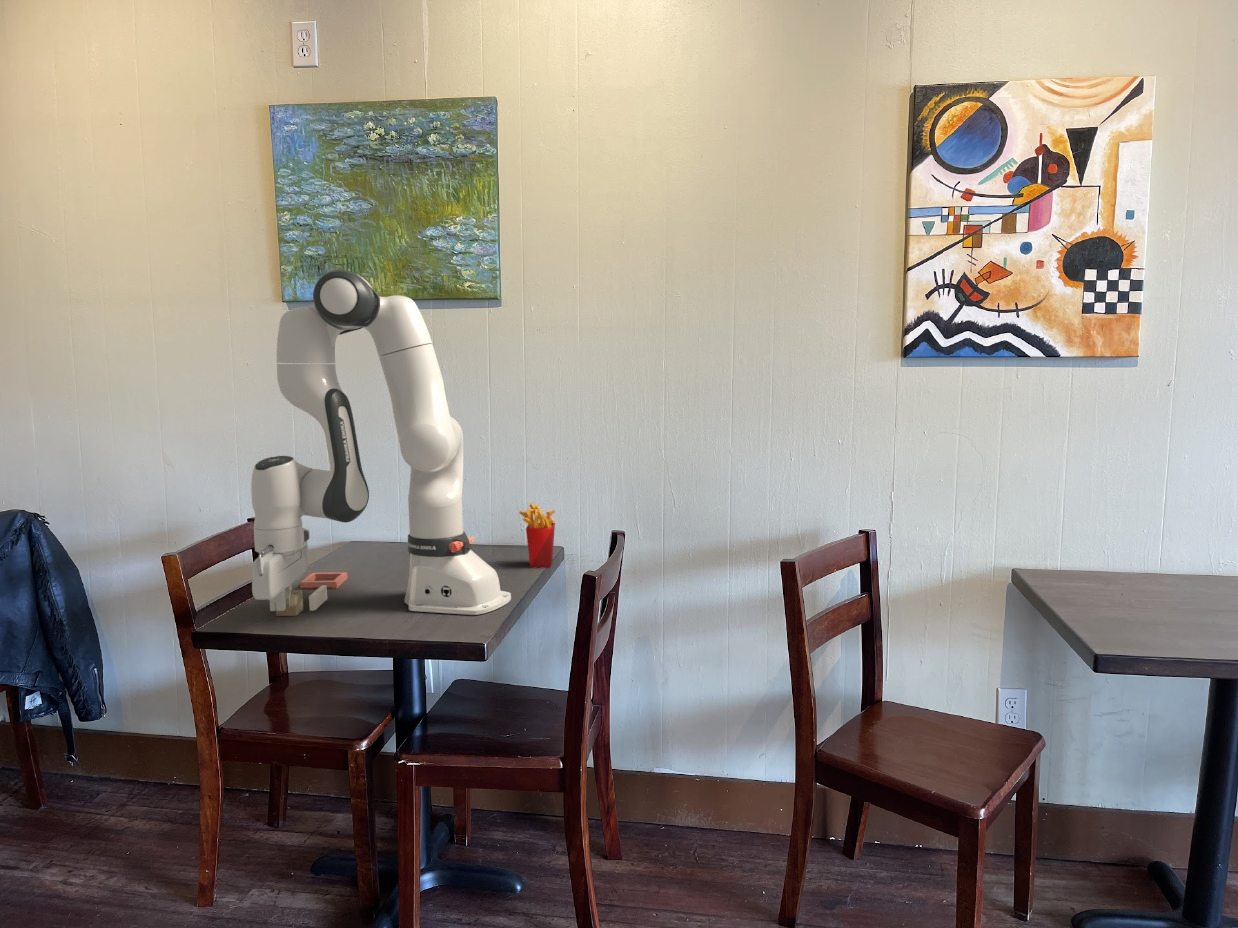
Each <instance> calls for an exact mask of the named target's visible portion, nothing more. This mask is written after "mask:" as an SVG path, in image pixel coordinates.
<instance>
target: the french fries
mask: <svg viewBox="0 0 1238 928" xmlns="http://www.w3.org/2000/svg"><path fill="white" fill-rule="evenodd" d="M528 506H529V507H530V508H527V509H526V510H524V511H523V510H520V511H519V515H521V516H523V519H522V521H523V522H524V523H527V526H526V528H525V531H526V533H525V534H526V539H527V549H528V557H529V566H530V567H547V568H548V569H550V568H551V567H552V564H553V558H554V557H553V556H554V546H555V545H554V544H555V528H556V522H555V519H554V517H551V516H552V515H554V514H555V513H556V510H555V509H553V510H551V511H550V510H546V511H545V513H546V515H544V514H543V513H542V511H541V508H540V506H539V505H538V504H537V505H534V503H529V504H528ZM526 511H527V512H526ZM547 568H546V569H547Z"/></svg>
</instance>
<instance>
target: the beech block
mask: <svg viewBox="0 0 1238 928" xmlns="http://www.w3.org/2000/svg"><path fill="white" fill-rule="evenodd" d="M275 605H276V603H275ZM302 611H304V598H303V589H300V590H291V595H290V606H289V607H287V608H286V609H285V610H284V611H277V610H276V611H275V615H276V617H281V616H283V617H284V616H286V617H287V616H288V617H289V616H293V617H295V616H298V615H299V614H300V613H301V612H302Z"/></svg>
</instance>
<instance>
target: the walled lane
mask: <svg viewBox="0 0 1238 928" xmlns="http://www.w3.org/2000/svg"><path fill="white" fill-rule="evenodd" d="M327 600H328V589H327V585H322V586H321V587H319V588H318V589H315V590H314V592H313V593H311V594H310V595H309V596H308V602H309V612H311V611H312V612H313V611H316V610H317V609H319V607H320V606H322V605H323V604H324V603H325V602H326V601H327ZM268 601H269V612H276V605H275V601H274V598H273V599H268Z"/></svg>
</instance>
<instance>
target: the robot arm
mask: <svg viewBox="0 0 1238 928" xmlns="http://www.w3.org/2000/svg"><path fill="white" fill-rule="evenodd" d="M312 291H313V292H312V301H313V304H312V305H310V306H300V307H299V306H298V307H294V308H291V309H288V310H287V311H286V312H284V313H283V314H282V315H281V317H280V321H279V326H278V333H277V341H276V342H277V343H276V376H277V377H276V378H277V384H278V387H279V390H280V393H281V394H282V396H283V398H285V400H286V401H287V402H289V403H290V404H291V405H292V406H294V407H296V408H297V409H299V410H301V411H304V412H305V413H306V414H308V415H310V416H311V417H313V418H314V419H315V420H316V421H317V422H318V423H319V425H320V426H321V428H322V431H323V432H324V435H325V437H324V438H325V443H326V448H327V454H328V461H329V468H330V470H326V469H325V470H324V469H320V468H317V469H316V468H312V467H308V466H306V465H303V464H301V463H299V462H298V461H296V460H295V458H294V457H292V456H289V455H277V456H271V457H270V456H269V457H267V458H264V459H263V458H262V459H261V460H260V461H258V462H256V464H255V465H254V467H253V470H252V474H251V489H250V491H251V492H250V493H251V494H250V495H251V505H252V508H253V510H254V512H253V513H254V521H253V537H254V538H253V539H254V551H255V552H256V553H258V557H257V558H255V559H254V561H253V564H252V567H251V568H252V569H251V592H252V596H253V598H254V599H255V600H258V601H259V600H264V601H265V600H269V599H273V598H274V601H275V603H276V610H277V611H284V610H285V609H286V608H287V607H289V606H290V595H291V591H293V590H292V589H293V586H292V585H293V584H294V583H295V582H296V581H298V580H299V579H300V578H301V577H303V576H305V574H307V572H308V569H309V544H308V541H309V540H310V537H311V536H310V530H309V529H307V528H304V527H303V520H302V517H303V516H308V517H313V518H322V519H328V520H333V521H336V522H339V523H340V522H341V523H351V522H353V521H354V520H356V519H357V518H358V517H359V516H361V514H362V513H363V512H364V511H365V509H366V508H367V506H368V503H369V499H370V490H369V486H368V483H367V480H366V477H365V475H364V471H363V467H362V463H361V456H360V451H359V450H360V449H359V444H358V437H357V433H356V431H357V430H356V426H355V419H354V416H353V415H354V414H353V411H352V407H351V403H350V400H349V398H348V396H347V395H346V394H345V393H344V392H343V390H342V388H341V385H340V383H339V380H338V375H337V370H336V341H337V338H338V336H341V335H344V334H347V333H350V332H354V331H358V330H361V329H365V330H366V331H367V332H368V333H369V334H370V336H371V338H372V340H373V343H374V345H375V349H376V353H377V354H378V359H379V362H380V366H381V369H382V371H383V376H384V379H385V382H386V386H387V388H388V389H387V390H388V392H389V393H388V394H389V396H390V400H391V406H392V412H393V419H394V424H395V429H396V433H397V438H398V442H399V448H400V454H401V457H402V458H403V460H404V462H405V463H406V464H407V465H408V466H409V467H410V476H409V488H408V489H409V491H408V495H407V496H408V497H407V500H408V501H407V502H408V503H407V504H408V526H409V534H408V535H407V551H408V554H409V555H408V556H409V571H408V572H409V573H408V582H407V586H406V587H407V588H406V593H405V597H404V601H403V602H404V603H405V604H406V605H407V606H408V611H411V612H420V613H421V612H425V613H437V614H438V613H440V614H454V615H455V614H457V615H469V616H476V615H477V616H478V615H481V614H482V615H483V614H486V613H489V612H492V611H495V610H497V609H500V608H502V607H503V606H505V605H507V604H508V603H509V602H511V600H512V594H511V592H509V591H504V590H501V586H500V585H501V584H500V579H499V576H498V573H497V571H496V569H494V568H493V567H492V566H491V565H489V564H488V563H487V562H486V561H485V560H483V559H482V558H481V557H480V556H479V555H478V554H476V553H475V552H474V551H473V550H472V546H471V544H472V543H474V542H475V541H476V540H474V539H475V536H472V537H469V538H468V536H467V534H466V531H465V530H464V516H463V515H464V509H463V487H464V486H463V485H464V484H463V483H464V481H463V480H464V445H465V444H464V443H465V442H464V433H463V429H462V427H461V425H460V424H459V423H458V421H457V420H456V419H455V418H454V417H452V416H451V415H450V411H449V410H450V409H449V405H448V401H447V397H446V390H445V382H444V378H443V376H442V371H441V368H440V365H439V361H438V359H437V354H436V351H435V348H434V345H433V341H432V337H431V335H430V332H429V330H428V327H427V324H426V322H425V319H424V317H423V315H422V313H421V310H420V309H419V307H418V306H417V304H416V302H415V301H414V300H413V299H412V298H410V297H408V296H405V295H399V294H398V295H390V296H381V295H380V294H378V293H377V292H376V290H375V289H374V288H373V287H372V285H370V283H369V282H368V281H367V280H366V279H365V278H364V277H362V276H360V275H359V274H357V273H355V272H353V271H351V270H347V269H335V270H334V269H333V270H330V271H327V272H326V273H324V274H322V276H321V277H319V279H317V281H316V282H315V285H314V288H313V290H312Z"/></svg>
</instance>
